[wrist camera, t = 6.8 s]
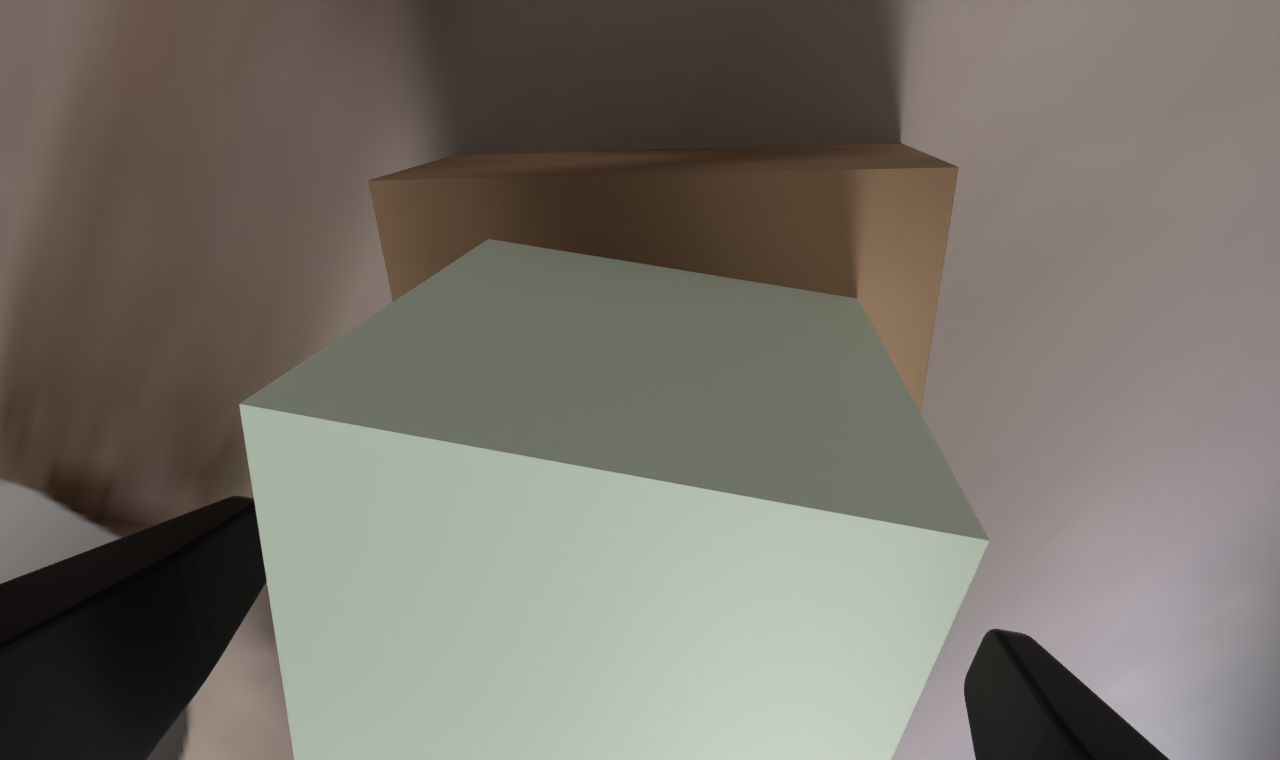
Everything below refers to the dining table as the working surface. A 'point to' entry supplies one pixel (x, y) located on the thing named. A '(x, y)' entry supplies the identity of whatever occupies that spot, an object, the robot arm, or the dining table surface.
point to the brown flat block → (700, 221)
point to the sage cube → (604, 522)
